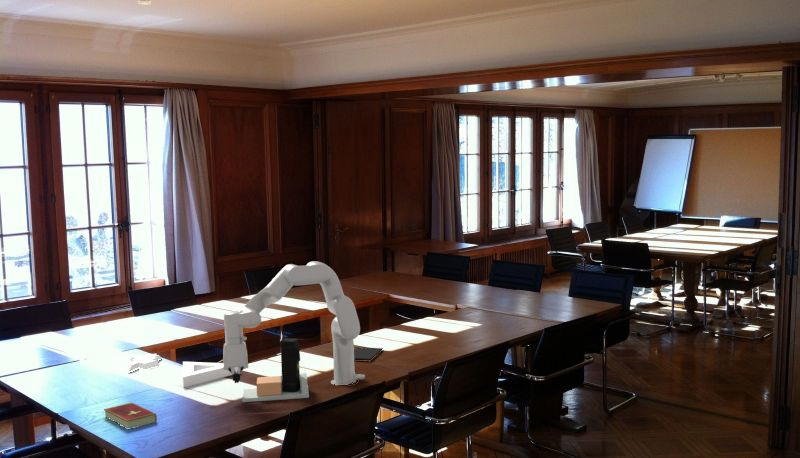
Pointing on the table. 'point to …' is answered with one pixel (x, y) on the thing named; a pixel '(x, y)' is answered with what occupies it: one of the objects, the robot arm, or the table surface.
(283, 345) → the portable radio
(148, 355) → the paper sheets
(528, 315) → the table surface
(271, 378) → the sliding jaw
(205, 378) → the triangle block
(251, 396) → the vise bed
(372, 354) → the external hard drive
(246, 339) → the robot arm
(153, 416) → the hardcover book
